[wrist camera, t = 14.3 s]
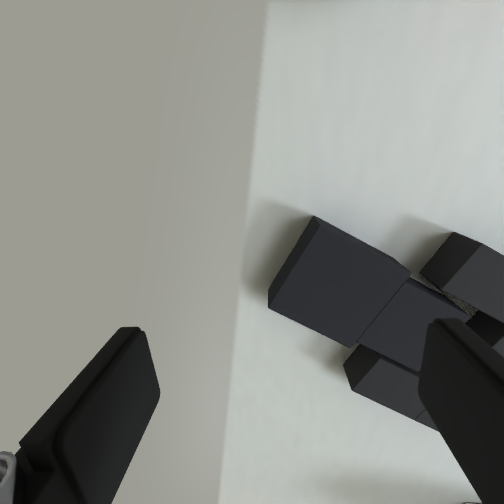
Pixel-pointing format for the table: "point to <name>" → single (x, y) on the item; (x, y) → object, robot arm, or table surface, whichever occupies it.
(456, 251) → the socket pad
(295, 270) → the pad
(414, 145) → the table surface
